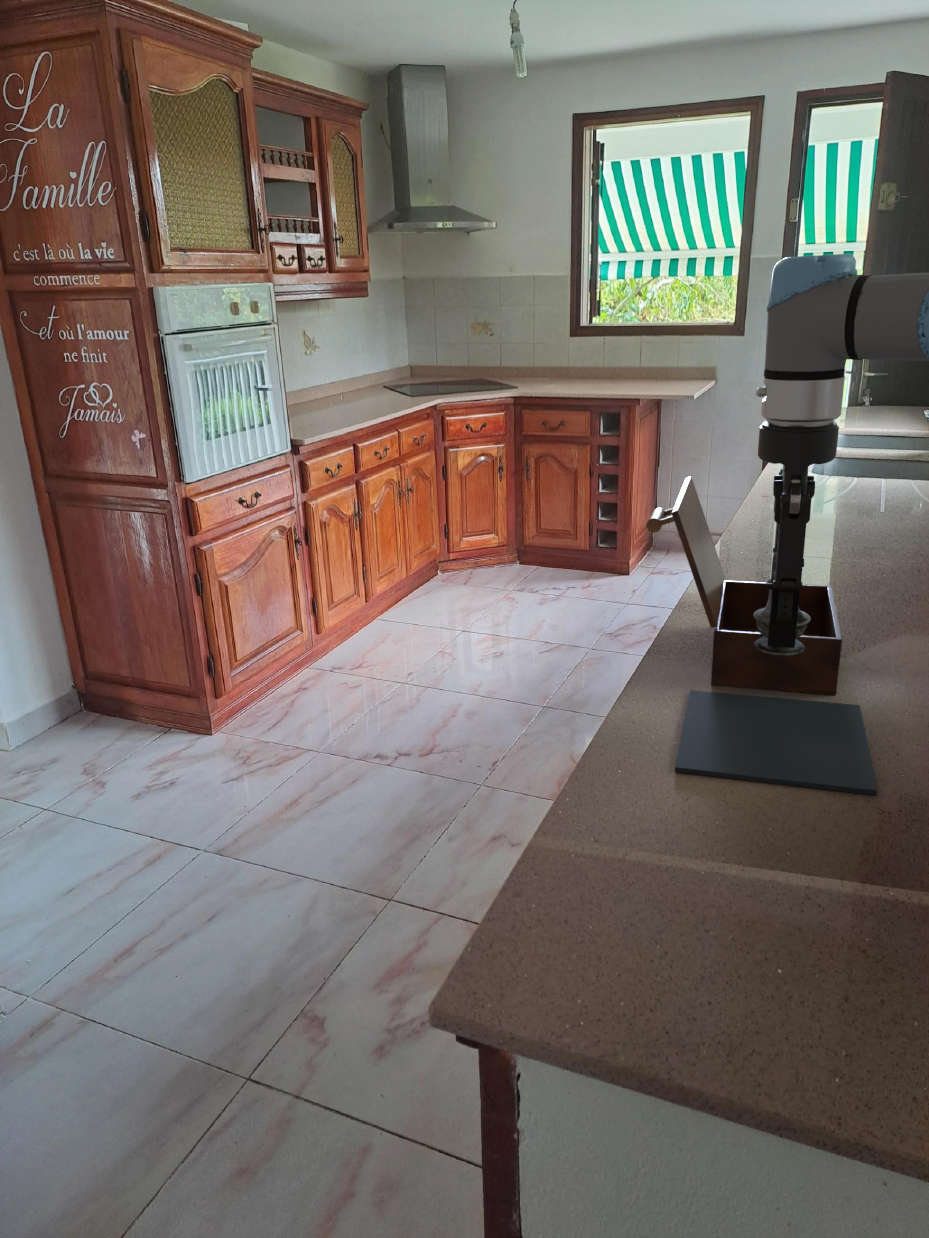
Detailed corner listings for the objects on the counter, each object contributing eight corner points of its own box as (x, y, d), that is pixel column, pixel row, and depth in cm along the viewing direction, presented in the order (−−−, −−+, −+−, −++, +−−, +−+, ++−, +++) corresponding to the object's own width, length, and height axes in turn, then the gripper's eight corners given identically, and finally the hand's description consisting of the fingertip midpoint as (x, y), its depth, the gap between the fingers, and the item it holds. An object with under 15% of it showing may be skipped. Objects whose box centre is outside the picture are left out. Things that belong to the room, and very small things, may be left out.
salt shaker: (755, 633, 101) (763, 532, 97) (810, 640, 98) (820, 536, 94) (747, 652, 96) (754, 546, 92) (804, 659, 93) (815, 551, 89)
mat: (859, 709, 107) (859, 704, 107) (876, 795, 89) (877, 790, 89) (689, 694, 113) (690, 689, 113) (675, 772, 95) (675, 767, 95)
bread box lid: (691, 475, 127) (652, 488, 130) (677, 510, 109) (632, 524, 111) (724, 576, 131) (686, 587, 133) (717, 626, 112) (673, 638, 115)
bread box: (826, 634, 129) (831, 585, 127) (835, 695, 111) (842, 639, 108) (719, 627, 134) (722, 580, 131) (710, 684, 115) (713, 630, 113)
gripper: (760, 408, 98) (746, 603, 106) (759, 435, 81) (742, 665, 89) (833, 408, 96) (813, 607, 104) (846, 436, 79) (821, 671, 87)
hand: (780, 634), depth 96 cm, fingers closed on salt shaker, 6 cm apart
